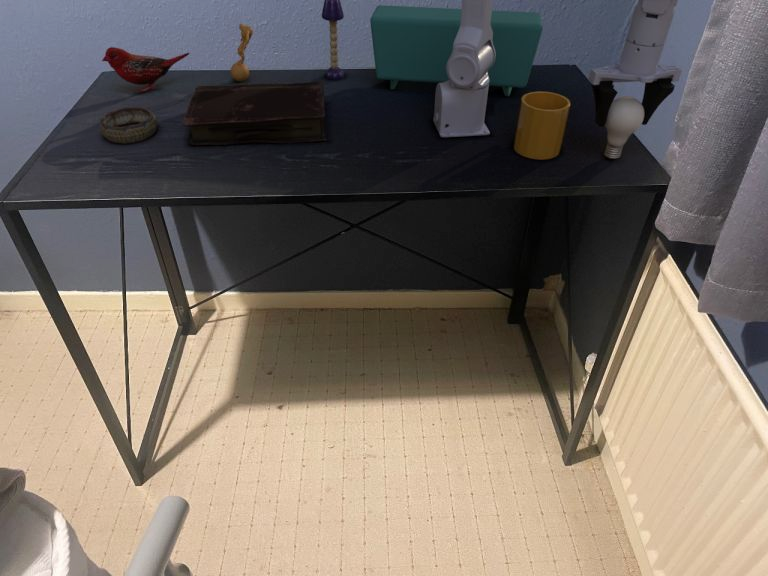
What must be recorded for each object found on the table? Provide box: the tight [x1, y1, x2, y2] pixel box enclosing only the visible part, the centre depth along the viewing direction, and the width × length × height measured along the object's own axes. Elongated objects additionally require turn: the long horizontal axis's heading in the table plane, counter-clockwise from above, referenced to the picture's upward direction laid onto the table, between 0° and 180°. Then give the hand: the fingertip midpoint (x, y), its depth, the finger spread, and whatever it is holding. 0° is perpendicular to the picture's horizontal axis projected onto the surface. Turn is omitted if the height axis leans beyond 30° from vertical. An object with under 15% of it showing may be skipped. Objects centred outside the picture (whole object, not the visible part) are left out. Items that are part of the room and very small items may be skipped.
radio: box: [369, 4, 544, 97], centre depth 121 cm, size 34×10×15 cm, turn 82°
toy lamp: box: [321, 0, 345, 81], centre depth 125 cm, size 5×5×17 cm
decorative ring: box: [99, 106, 159, 145], centre depth 107 cm, size 10×3×10 cm
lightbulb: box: [604, 95, 645, 160], centre depth 98 cm, size 6×6×11 cm
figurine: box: [230, 23, 254, 83], centre depth 124 cm, size 8×6×12 cm
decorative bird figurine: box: [101, 46, 191, 94], centre depth 121 cm, size 3×18×10 cm, turn 123°
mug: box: [513, 90, 572, 161], centre depth 102 cm, size 11×8×9 cm
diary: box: [182, 81, 327, 146], centre depth 110 cm, size 19×25×5 cm
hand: (620, 123), depth 98 cm, fingers open, 7 cm apart
